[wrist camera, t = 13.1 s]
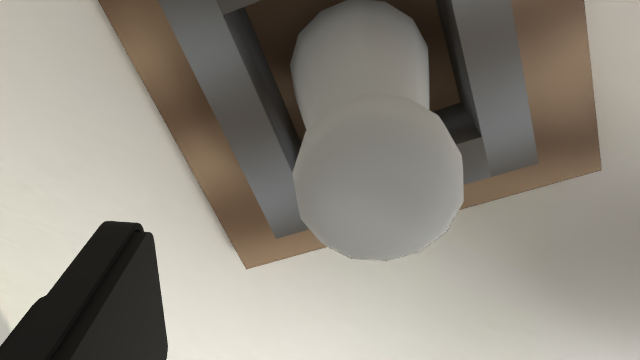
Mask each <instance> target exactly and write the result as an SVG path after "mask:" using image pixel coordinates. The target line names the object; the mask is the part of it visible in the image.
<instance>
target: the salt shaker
mask: <svg viewBox="0 0 640 360" xmlns="http://www.w3.org/2000/svg"><path fill="white" fill-rule="evenodd" d="M290 68H291V75H292V81H293V88H294V94H295V97H296V100H297V103H298V106H299V109H300V112H301V115H302V118H303V121H304V124H305V127H306V132H305V135H304V138H303V141H302V144H301V148H300V151H299V154H298V157H297V160H296V163H295V167H294V170H293V173H292V175H293V180H294V186H295V192H296V197H297V203H298V208H299V213H300V218H301V220H302V221H303V222H304V223H305V225H306V226H307V227H308V228H309V229H310V231H311V232H312V233H313V234H314V235H315V237H316V238H317V239H318V240H319V241H320V243H321V244H323V245H325V246H327V247H329V248H331V249H333V250H335V251H337V252H339V253H341V254H343V255H345V256H347V257H349V258H351V259H365V260H378V261H388V260H392V259H395V258H399V257H403V256H406V255H410V254H414V253H418V252H420V251H422V250H423V249H424V248H426V247H427V246H428V245H429V244H431V243H432V242H433V241H435V240H436V239H437V238H439V237H440V236H441V235H442V234H444V233H445V232H446V231H447V230H448V229H449V227H450V225H451V223H452V221H453V220H454V218H455V216H456V214H457V212H458V211H459V209H460V207H461V205H462V204H463V202H464V196H463V163H462V155H461V153H460V151H459V149H458V148H457V146H456V144H455V142H454V141H453V139H452V137H451V135H450V134H449V132H448V130H447V128H446V127H445V125H444V123H443V122H442V120H441V119H440V117H439V116H438V115H437V114H435V113H433V112H432V111H430V110H429V58H428V46H427V44H426V42H425V40H424V39H423V37H422V35H421V33H420V31H419V29H418V27H417V26H416V24H415V22H414V20H413V19H412V18H411V17H409V16H408V15H406V14H404V13H403V12H401V11H399V10H398V9H396V8H395V7H393V6H391V5H390V4H388V3H387V2H383V1H374V0H346V1H343V2H341V3H339V4H336V5H334V6H331V7H329V8H327V9H324V10H322V11H320V12H319V13H318V15H317V16H316V17H315V18H314V19H313V20H312V21H311V22H310V23H309V24H308V25H307V26H306V27H305V28H304V29H303V30H302V31H301V32H300V33H299V34H298V38H297V41H296V45H295V49H294V52H293V56H292V60H291V63H290Z"/></svg>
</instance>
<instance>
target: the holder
mask: <svg viewBox="0 0 640 360" xmlns="http://www.w3.org/2000/svg"><path fill="white" fill-rule="evenodd" d="M98 1H99V3H100V5H101V6H102V8H103V10H104V12H105V14H106V15H107V17H108V19H109V21H110V23H111V25H112V26H113V28H114V30H115V32H116V34H117V35H118V37H119V39H120V41H121V43H122V45H123V46H124V48H125V50H126V52H127V54H128V55H129V57H130V59H131V61H132V63H133V65H134V66H135V68H136V70H137V72H138V74H139V75H140V77H141V79H142V81H143V83H144V85H145V86H146V88H147V90H148V92H149V94H150V95H151V97H152V99H153V101H154V103H155V105H156V106H157V108H158V110H159V112H160V114H161V115H162V117H163V119H164V121H165V123H166V124H167V126H168V128H169V130H170V132H171V134H172V135H173V137H174V139H175V141H176V143H177V144H178V146H179V148H180V150H181V152H182V154H183V155H184V157H185V159H186V161H187V163H188V164H189V166H190V168H191V170H192V172H193V174H194V175H195V177H196V179H197V181H198V183H199V184H200V186H201V188H202V190H203V192H204V194H205V195H206V197H207V199H208V201H209V203H210V204H211V206H212V208H213V210H214V212H215V214H216V215H217V217H218V219H219V221H220V223H221V224H222V226H223V228H224V230H225V232H226V234H227V235H228V237H229V239H230V241H231V243H232V244H233V246H234V248H235V250H236V252H237V254H238V255H239V257H240V259H241V261H242V263H243V264H244V266H245V268H246V269H249V268H253V267H256V266H260V265H264V264H267V263H271V262H274V261H278V260H282V259H285V258H289V257H292V256H296V255H299V254H303V253H307V252H310V251H314V250H317V249H321V248H324V247H327V246H325V245H323V244H321V243H320V241H319V240H318V239H317V238H316V237H315V235H314V234H313V233H312V232H311V231H310V229H309V228H308V227H307V226H306V225H305V223H304V222H303V221H302V220H301V218H300V213H299V208H298V203H297V197H296V192H295V186H294V180H293V175H292V173H293V170H294V167H295V163H296V160H297V157H298V154H299V151H300V148H301V144H302V141H303V138H304V135H305V132H306V127H305V124H304V121H303V118H302V115H301V112H300V109H299V106H298V103H297V100H296V97H295V94H294V88H293V81H292V75H291V68H290V63H291V60H292V56H293V52H294V49H295V45H296V41H297V38H298V34H299V33H300V32H301V31H302V30H303V29H304V28H305V27H306V26H307V25H308V24H309V23H310V22H311V21H312V20H313V19H314V18H315V17H316V16H317V15H318V13H319V12H320V11H322V10H324V9H327V8H329V7H331V6H334V5H336V4H339V3H341V2H343V1H346V0H98ZM374 1H383V2H387V3H388V4H390V5H391V6H393V7H395V8H396V9H398V10H399V11H401V12H403V13H404V14H406V15H408V16H409V17H411V18H412V19H413V20H414V22H415V24H416V26H417V27H418V29H419V31H420V33H421V35H422V37H423V39H424V40H425V42H426V44H427V46H428V58H429V110H430V111H432V112H433V113H435V114H437V115H438V116H439V117H440V119H441V120H442V122H443V123H444V125H445V127H446V128H447V130H448V132H449V134H450V135H451V137H452V139H453V141H454V142H455V144H456V146H457V148H458V149H459V151H460V153H461V155H462V163H463V196H464V202H463V204H462V205H461V207H460V209H459V210H461V209H464V208H468V207H471V206H475V205H478V204H482V203H486V202H489V201H493V200H496V199H500V198H503V197H507V196H511V195H514V194H518V193H521V192H525V191H529V190H532V189H536V188H539V187H543V186H546V185H550V184H554V183H557V182H561V181H564V180H568V179H571V178H575V177H579V176H582V175H586V174H589V173H593V172H597V171H600V170H602V169H601V159H600V150H599V140H598V131H597V121H596V112H595V102H594V92H593V83H592V73H591V64H590V54H589V44H588V35H587V25H586V16H585V6H584V0H374Z"/></svg>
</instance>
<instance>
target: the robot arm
mask: <svg viewBox="0 0 640 360" xmlns="http://www.w3.org/2000/svg"><path fill="white" fill-rule="evenodd" d="M167 351H168V343H167V335H166V328H165V320H164V312H163V305H162V297H161V289H160V282H159V274H158V267H157V259H156V251H155V244H154V238H153V235H152V233H150V232H144V230H143V227H142V225H141V224H139V223H131V222H116V221H105V222H103V223H102V224H101V225H100V226H99V228H98V229H97V230H96V232H95V233H94V234H93V236H92V237H91V238H90V239H89V241H88V242H87V243H86V245H85V246H84V247H83V249H82V250H81V251H80V252H79V254H78V255H77V256H76V258H75V259H74V260H73V262H72V263H71V264H70V265H69V267H68V268H67V269H66V271H65V272H64V273H63V275H62V276H61V277H60V278H59V280H58V281H57V282H56V284H55V285H54V286H53V288H52V289H51V290H50V291H49V293H48V294H47V295H46V296H44V297H42V298H40V299H39V300H38V301H37V302H36V303H34V304H33V305H32V307H31V308H30V309H29V311H28V312H27V313H26V314H25V316H24V317H23V318H22V319H21V321H20V322H19V323H18V325H17V326H16V327H15V328H14V330H13V331H12V332H11V333H10V335H9V336H8V337H7V339H6V340H5V341H4V342H3V344H2V345H1V346H0V360H166V358H167Z"/></svg>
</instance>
